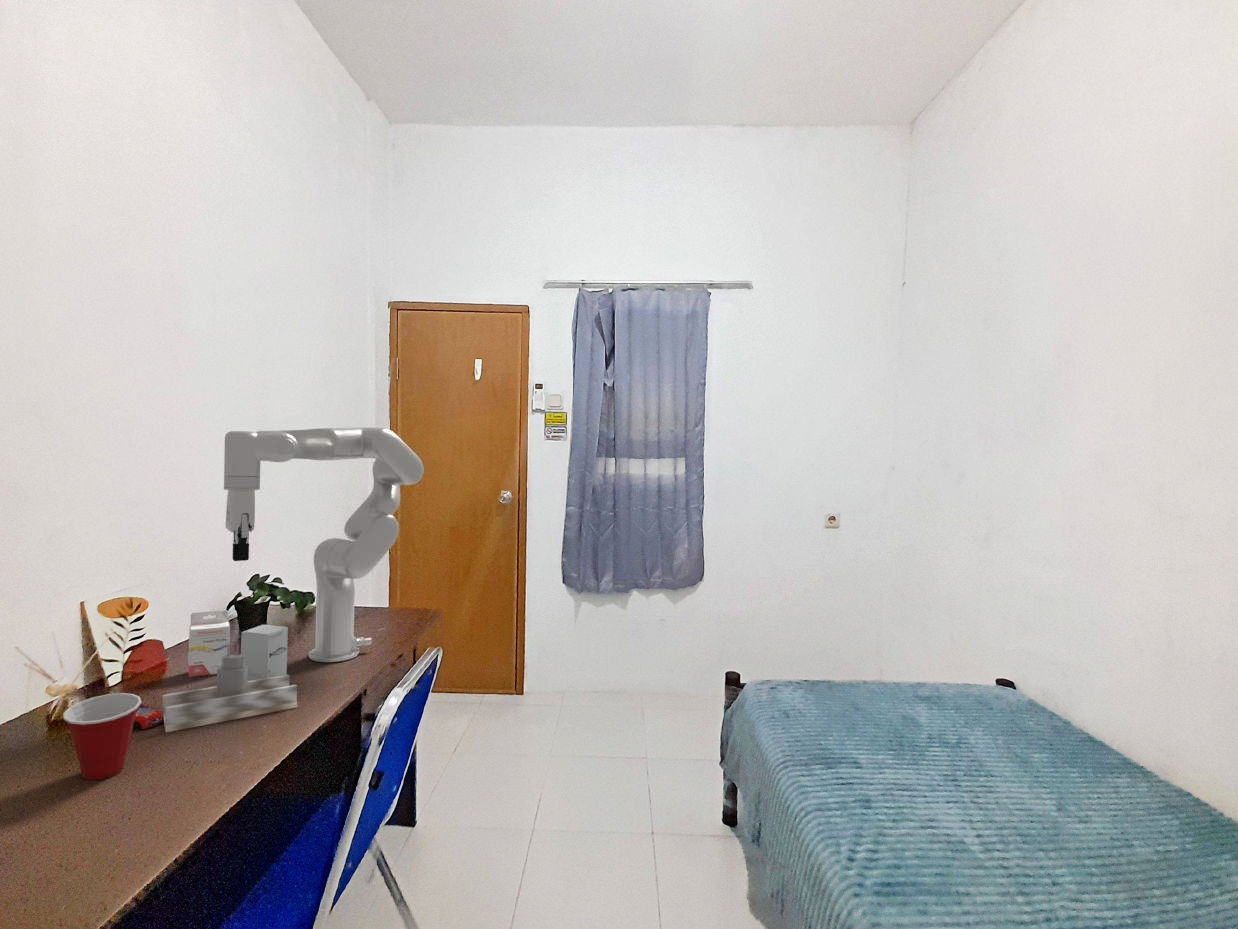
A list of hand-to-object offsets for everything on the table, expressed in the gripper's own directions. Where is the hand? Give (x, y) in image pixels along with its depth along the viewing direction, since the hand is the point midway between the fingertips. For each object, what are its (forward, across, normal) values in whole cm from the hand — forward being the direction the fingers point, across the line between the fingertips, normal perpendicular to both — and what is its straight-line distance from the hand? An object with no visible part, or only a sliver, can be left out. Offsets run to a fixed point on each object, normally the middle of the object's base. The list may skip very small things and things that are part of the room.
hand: (240, 560), depth 162 cm
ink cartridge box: (+29, -10, -5) cm, 31 cm away
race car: (+30, +15, -22) cm, 40 cm away
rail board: (+29, +19, -4) cm, 35 cm away
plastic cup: (+29, +37, -26) cm, 54 cm away
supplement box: (+29, +3, +5) cm, 30 cm away
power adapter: (+27, +19, -4) cm, 33 cm away
